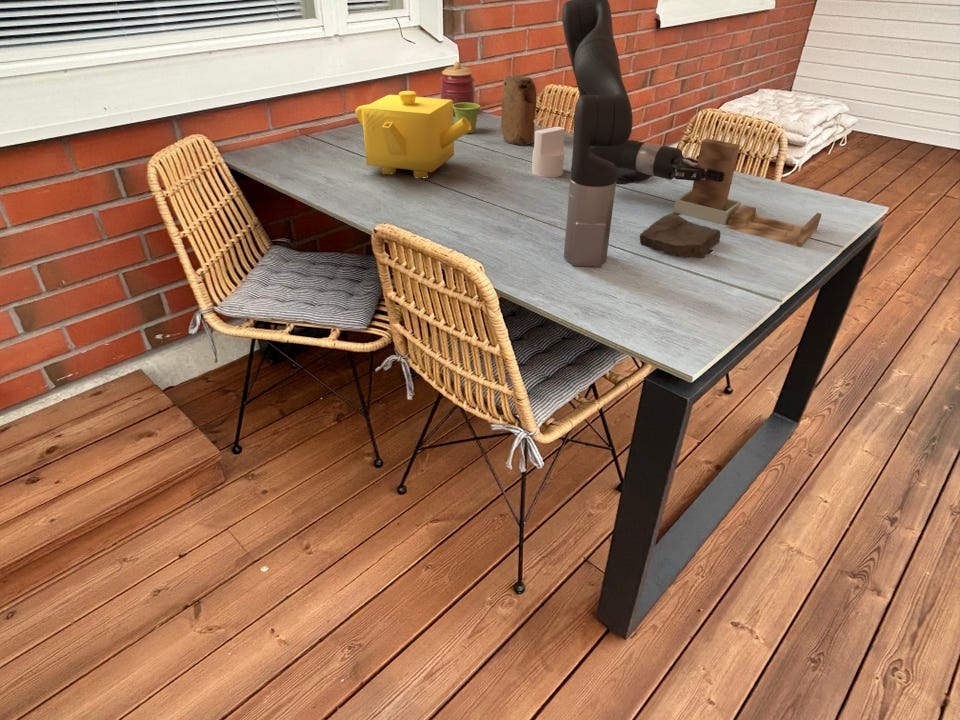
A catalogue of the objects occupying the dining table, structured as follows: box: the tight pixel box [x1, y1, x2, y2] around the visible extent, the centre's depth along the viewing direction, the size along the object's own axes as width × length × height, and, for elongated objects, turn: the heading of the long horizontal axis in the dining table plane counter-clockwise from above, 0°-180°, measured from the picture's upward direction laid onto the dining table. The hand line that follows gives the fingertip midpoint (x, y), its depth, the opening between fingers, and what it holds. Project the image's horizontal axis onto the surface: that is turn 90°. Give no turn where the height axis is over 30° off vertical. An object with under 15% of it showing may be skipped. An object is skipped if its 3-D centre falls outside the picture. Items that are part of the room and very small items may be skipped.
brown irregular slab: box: [639, 212, 721, 259], centre depth 145 cm, size 17×15×4 cm
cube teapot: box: [355, 90, 471, 179], centre depth 183 cm, size 35×30×21 cm
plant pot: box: [453, 102, 481, 135], centre depth 220 cm, size 9×9×9 cm
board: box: [690, 138, 741, 211], centre depth 154 cm, size 8×3×16 cm, turn 51°
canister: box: [439, 61, 476, 117], centre depth 240 cm, size 13×13×18 cm
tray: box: [672, 189, 742, 226], centre depth 159 cm, size 13×9×4 cm
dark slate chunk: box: [616, 168, 652, 186], centre depth 188 cm, size 15×22×5 cm
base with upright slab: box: [531, 126, 566, 178], centre depth 184 cm, size 9×9×12 cm
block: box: [500, 75, 537, 146], centre depth 207 cm, size 11×8×20 cm
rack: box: [724, 204, 822, 248], centre depth 150 cm, size 17×12×5 cm
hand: (725, 175), depth 152 cm, fingers closed on board, 3 cm apart
